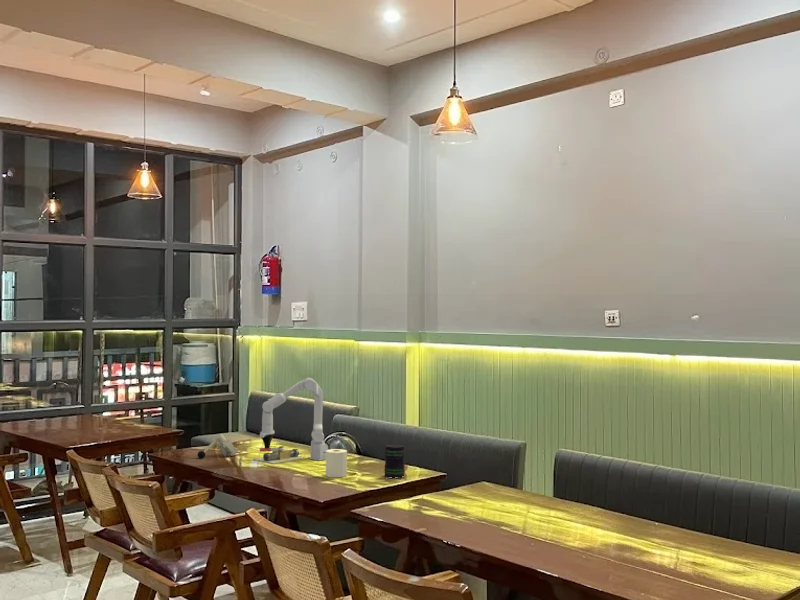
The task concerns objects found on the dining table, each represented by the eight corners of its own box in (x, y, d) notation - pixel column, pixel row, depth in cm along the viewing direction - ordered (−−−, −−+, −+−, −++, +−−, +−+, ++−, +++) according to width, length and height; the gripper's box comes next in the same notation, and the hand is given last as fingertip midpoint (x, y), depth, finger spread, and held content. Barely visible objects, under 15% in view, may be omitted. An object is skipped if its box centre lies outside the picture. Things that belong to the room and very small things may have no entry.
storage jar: (380, 476, 374) (380, 445, 375) (395, 473, 381) (396, 443, 381) (393, 479, 367) (393, 447, 367) (408, 477, 373) (409, 446, 374)
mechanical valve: (240, 451, 421) (223, 431, 416) (217, 475, 412) (199, 455, 407) (233, 450, 429) (216, 430, 425) (210, 473, 420) (192, 454, 416)
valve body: (300, 458, 419) (300, 449, 419) (269, 462, 403) (269, 453, 404) (292, 456, 423) (292, 448, 423) (261, 461, 408) (262, 452, 408)
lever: (284, 449, 416) (284, 445, 416) (286, 450, 412) (286, 447, 412) (259, 450, 412) (259, 446, 412) (260, 451, 408) (260, 448, 408)
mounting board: (304, 458, 418) (304, 457, 418) (272, 463, 401) (272, 462, 401) (285, 454, 428) (285, 453, 428) (253, 459, 412) (253, 458, 412)
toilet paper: (350, 475, 375) (351, 450, 375) (337, 478, 366) (338, 453, 367) (334, 472, 381) (334, 448, 381) (321, 476, 372) (321, 450, 372)
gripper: (266, 421, 422) (265, 446, 421) (254, 425, 408) (254, 450, 407) (278, 422, 420) (277, 447, 419) (267, 425, 406) (266, 451, 405)
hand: (267, 449), depth 413 cm, fingers closed, pressing on lever
